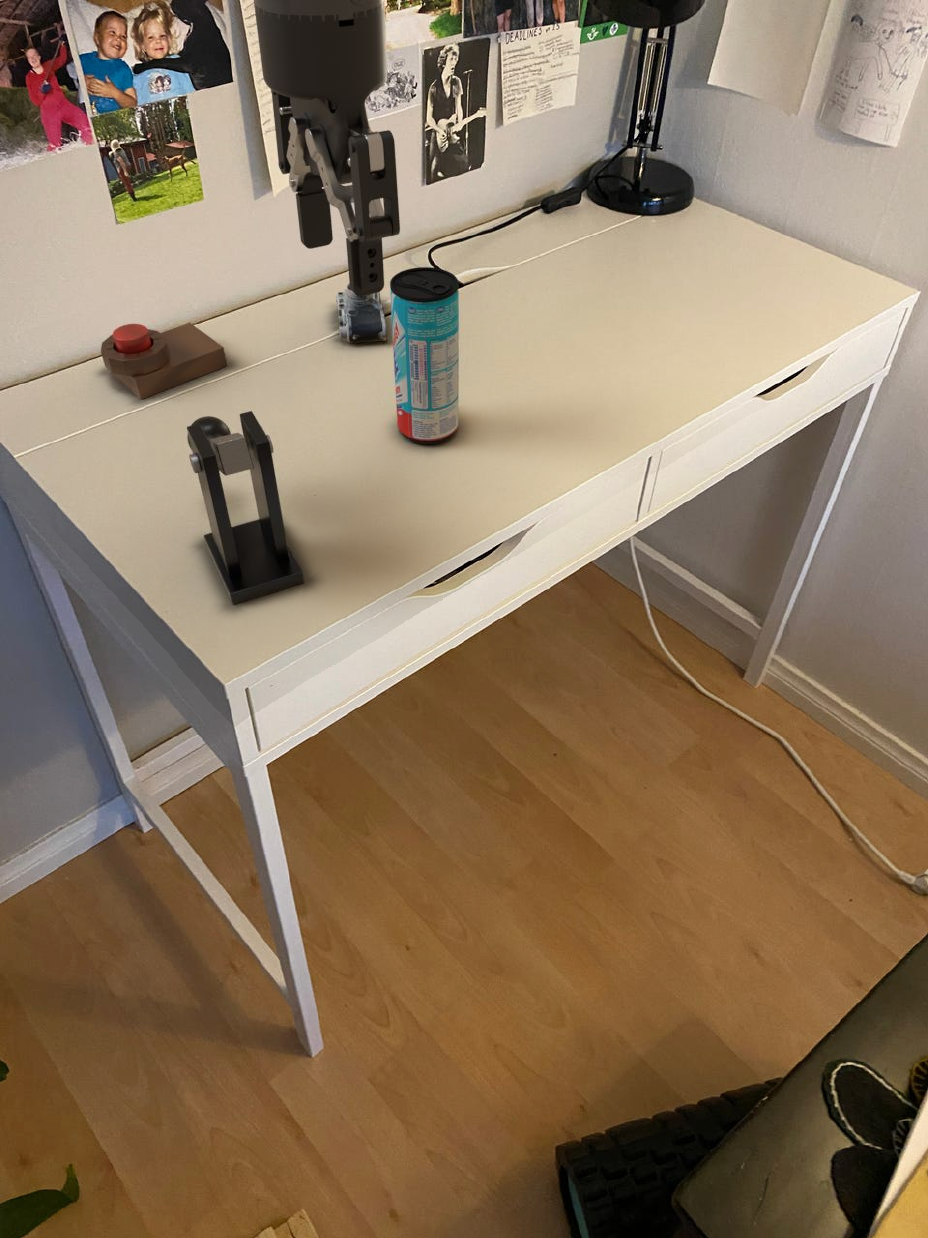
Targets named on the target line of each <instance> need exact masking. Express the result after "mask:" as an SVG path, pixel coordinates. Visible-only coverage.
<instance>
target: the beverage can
mask: <svg viewBox="0 0 928 1238" xmlns="http://www.w3.org/2000/svg"><path fill="white" fill-rule="evenodd" d="M459 283H460V281H459V279H458V277H457V276H456V275H455V274H453V273H452V272H450V271H448V270H445V269H442V268H438V267H430V266H420V267H411V268H407V269H405V270H401V271H399V272H398V273H396V274H395V275H394V276H392V278H391V279H390V281H389V288H390V314H391V329H392V333H391V334H392V352H393V367H394V371H393V372H394V386H395V389H394V390H395V405H396V406H395V407H396V425H397V427H398V430H399V432H400V434H401V435H402V436H403V437H404V438H405V439H406V440H407V441H409V442H411V443H415V444H419V445H436V444H440V443H444V442H446V441H448V440H450V439H451V438H452V437H453V436H454V435H455V434H456V432H457V431H458V427H459V423H460V421H459V418H460V417H459V415H460V414H459V410H460V409H459V408H460V407H459V404H460V403H459V402H460V400H459V397H460V392H459V391H460V387H459V386H460V385H459V384H460V383H459V382H460V306H459V303H460V302H459V301H460V300H459V299H460V295H459V286H460V285H459Z"/></svg>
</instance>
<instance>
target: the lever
mask: <svg viewBox="0 0 928 1238" xmlns="http://www.w3.org/2000/svg"><path fill="white" fill-rule="evenodd" d="M196 424H200V425H201V427H202V429H203V431H204V433H205V435H206V437H207V439H208V441H209V443H210V445H211V447H212V449H213V451H214V453H215V455H216V458H217V463H218V468H219V472H220V473H221V474H222V475H224V476H226V477H228V476H230V475H235V474H238V473H241V472H245V471H250V469H253V468H254V466H253V463H252V459H251V455H250V452H249V448H248V444H247V441H246V437H245V436H243V434H241V433H240V432H235V433H232V432H231V430H230V428H229V426H228V425H227V423H226V422H225V421H223V420H222V419H220V418H218V417H215V416H212V415H211V416H210V415H206V416H202V417H198V418H197V419H195V420H194V421H193V422H192V423H191V424H190V426H192V425H196ZM186 439H187V444H188V447H189V448H190V450H191V451H192V448H191V444H190V439H189V435H188V434H187V436H186Z"/></svg>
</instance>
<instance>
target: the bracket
mask: <svg viewBox="0 0 928 1238" xmlns="http://www.w3.org/2000/svg"><path fill="white" fill-rule="evenodd" d="M239 419H240V425H241V430H242V435H243V436H245V437H246V441H247V444H248V448H249V452H250V455H251V459H252V463H253V466H254V468H253V469H249V473H250V478H251V483H252V488H253V494H254V499H255V504H256V508H257V514H258V519H255V520H251V521H248V522H244V523H241V524H237V525H234V526H232V524H231V523H232V522H231V517H230V514H229V509H228V504H227V501H226V500H227V499H226V496H225V491H224V487H223V482H222V477H221V472H220V471H219V468H218V463H217V458H216V455H215V453H214V451H213V449H212V447H211V445H210V443H209V441H208V439H207V437H206V435H205V433H204V431H203V429H202V427H201V425H200V424H196V425H192V424H191V425H192V426H191V425H189V426H188V425H187V426H186V431H187V435H189V439H190V444H191V448H192V450H191V452H192V454H189V455H188V457H189V462H190V466H191V468H192V470H193V472H194V474H197V476H198V482H199V485H200V489H201V494H202V497H203V502H204V506H205V510H206V514H207V519H208V523H209V527H210V531H211V532H209V533H205V534H203V540H204V543H205V547H206V550H207V551H208V553H209V555H210V558H211V560H212V562H213V565H214V566H215V569H216V571H217V574H218V576H219V578H220V580H221V582H222V584H223V587H224V589H225V592H226V594H227V595H228V598H229V600H230V603H231V604H232V605H237V604H240V603H244V602H247V601H250V600H253V599H256V598H259V597H262V596H265V595H269V594H273V593H276V592H278V591H282V590H285V589H289V588H291V587H295V586H297V585H302V584H304V583H305V578H304V577H305V576H304V571H303V570H302V567H301V566H300V564H299V562H298V560H297V559H296V556H295V554H294V553H293V551H292V549H291V548H290V546H289V544H288V542H287V536H286V531H285V524H284V519H283V513H282V507H281V500H280V494H279V487H278V483H277V476H276V472H275V471H276V470H275V464H274V458H273V454H274V445H273V443H272V439H271V437H270V436H269V434H266V432H265V431H264V429H263V428H262V426H261V424H260V422H259V420H258V418H257V417H256V415H255V414H254V412H253V411H252V410H249V411H245V412H241V413H239ZM191 448H190V449H191Z"/></svg>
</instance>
